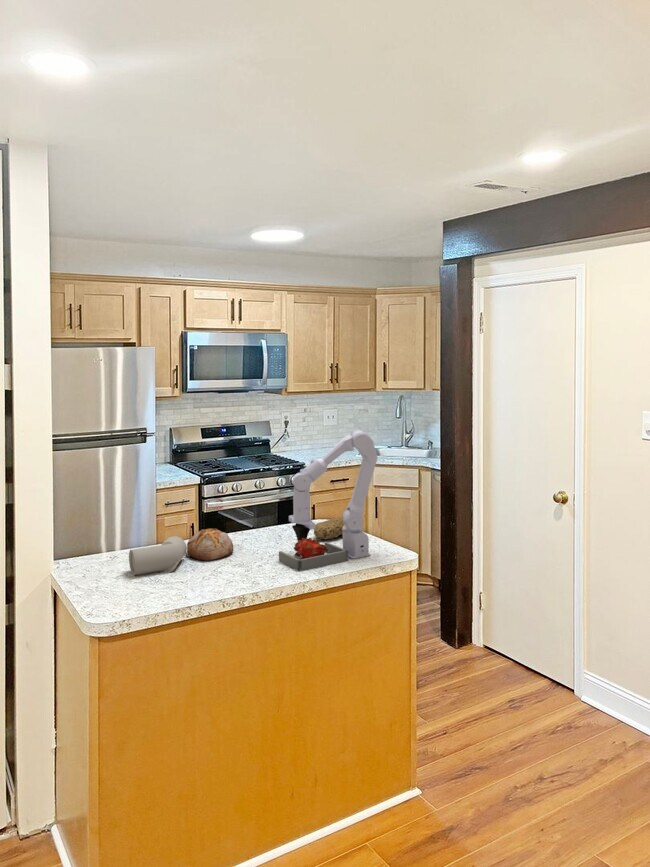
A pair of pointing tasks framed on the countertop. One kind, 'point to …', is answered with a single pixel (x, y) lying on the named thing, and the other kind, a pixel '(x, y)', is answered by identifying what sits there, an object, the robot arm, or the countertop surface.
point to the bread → (209, 545)
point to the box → (315, 558)
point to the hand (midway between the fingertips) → (302, 544)
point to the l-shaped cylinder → (157, 557)
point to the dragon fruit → (309, 548)
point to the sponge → (329, 528)
